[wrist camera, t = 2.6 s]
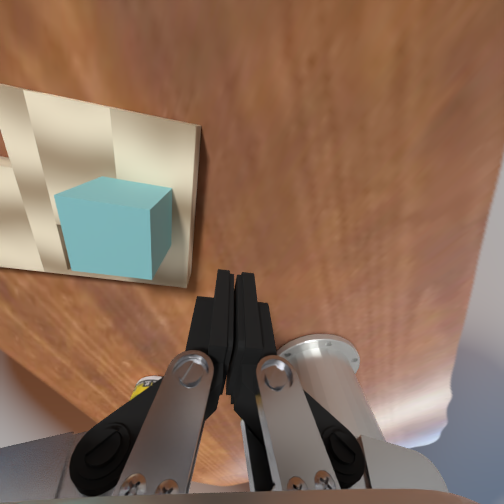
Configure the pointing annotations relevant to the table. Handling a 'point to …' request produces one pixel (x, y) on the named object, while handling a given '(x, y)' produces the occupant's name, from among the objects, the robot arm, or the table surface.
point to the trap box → (88, 174)
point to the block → (116, 226)
